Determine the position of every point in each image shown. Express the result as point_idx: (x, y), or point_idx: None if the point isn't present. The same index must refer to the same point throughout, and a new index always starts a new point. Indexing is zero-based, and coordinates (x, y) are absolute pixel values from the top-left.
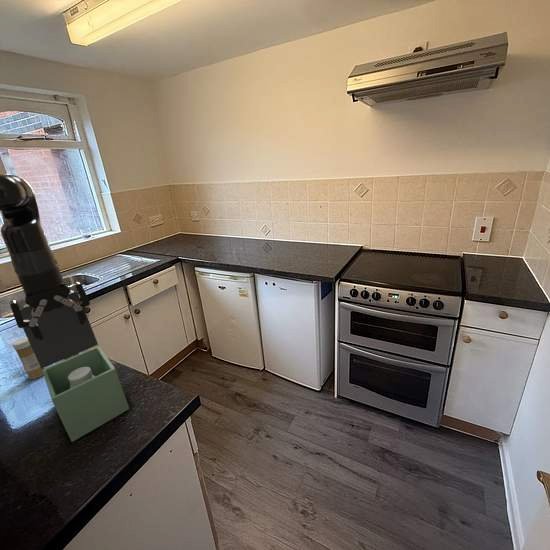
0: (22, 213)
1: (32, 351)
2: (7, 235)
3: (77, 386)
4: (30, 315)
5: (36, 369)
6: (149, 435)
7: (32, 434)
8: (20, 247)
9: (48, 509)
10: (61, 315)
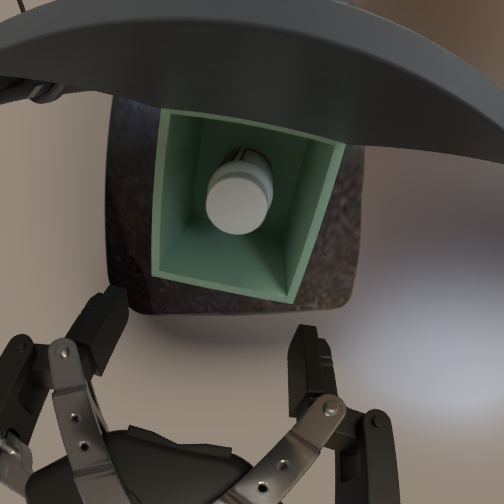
0: None
1: None
2: None
3: (204, 285)
4: (53, 384)
5: None
6: (268, 307)
7: (145, 130)
8: None
9: (142, 289)
10: (293, 98)
